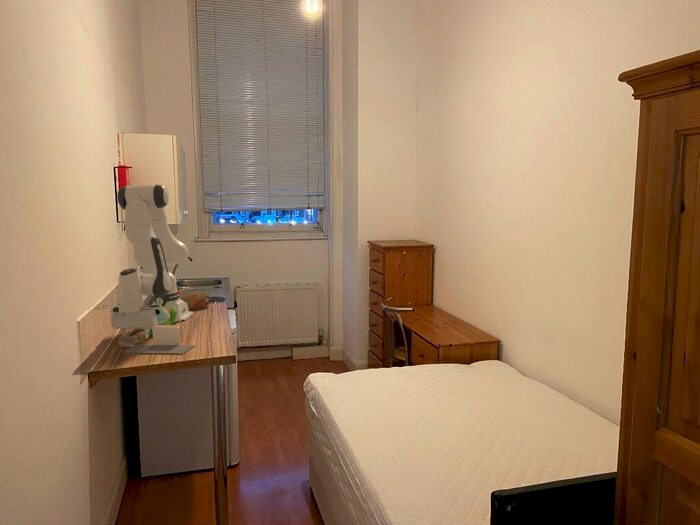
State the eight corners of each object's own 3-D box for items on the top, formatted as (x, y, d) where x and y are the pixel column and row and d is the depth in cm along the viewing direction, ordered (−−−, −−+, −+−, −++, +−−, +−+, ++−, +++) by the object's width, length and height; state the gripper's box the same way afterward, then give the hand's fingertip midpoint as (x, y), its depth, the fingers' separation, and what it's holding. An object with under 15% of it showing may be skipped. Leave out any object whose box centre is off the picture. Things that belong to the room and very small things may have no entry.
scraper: (139, 336, 236) (139, 328, 235) (154, 336, 234) (153, 328, 234) (119, 346, 221) (118, 337, 221) (134, 347, 220) (133, 337, 219)
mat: (137, 345, 221) (137, 344, 221) (194, 346, 216) (194, 345, 216) (123, 353, 211) (122, 352, 211) (182, 354, 206) (182, 353, 206)
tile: (157, 343, 224) (155, 325, 223) (183, 343, 221) (181, 325, 220) (153, 345, 221) (152, 327, 220) (180, 345, 218) (178, 327, 217)
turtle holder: (185, 327, 247) (182, 303, 245) (147, 336, 235) (144, 310, 233) (173, 323, 256) (170, 299, 254) (136, 332, 244) (133, 307, 242)
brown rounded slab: (181, 310, 284) (180, 294, 283) (182, 308, 287) (180, 293, 286) (210, 307, 287) (209, 292, 286) (210, 306, 290) (209, 291, 289)
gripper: (158, 305, 226) (162, 336, 228) (116, 305, 230) (119, 335, 232) (150, 308, 220) (154, 340, 222) (107, 308, 224) (110, 340, 226)
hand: (136, 338), depth 227 cm, fingers open, 8 cm apart
